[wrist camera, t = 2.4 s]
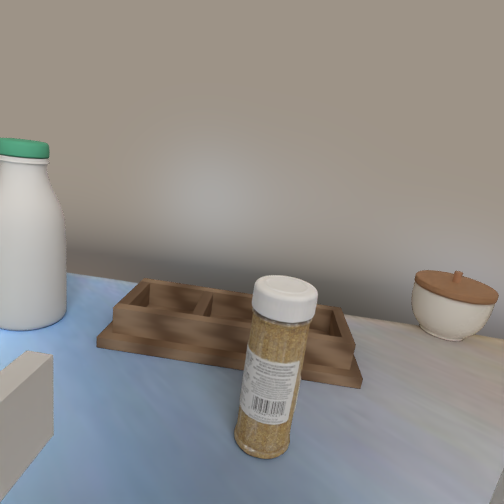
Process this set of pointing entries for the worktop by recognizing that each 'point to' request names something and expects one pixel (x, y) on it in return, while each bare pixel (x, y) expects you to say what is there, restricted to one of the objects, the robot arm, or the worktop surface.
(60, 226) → the milk bottle
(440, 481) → the worktop surface
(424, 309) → the lidded jar
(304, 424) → the worktop surface
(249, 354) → the spice bottle
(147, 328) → the wooden compartment tray
